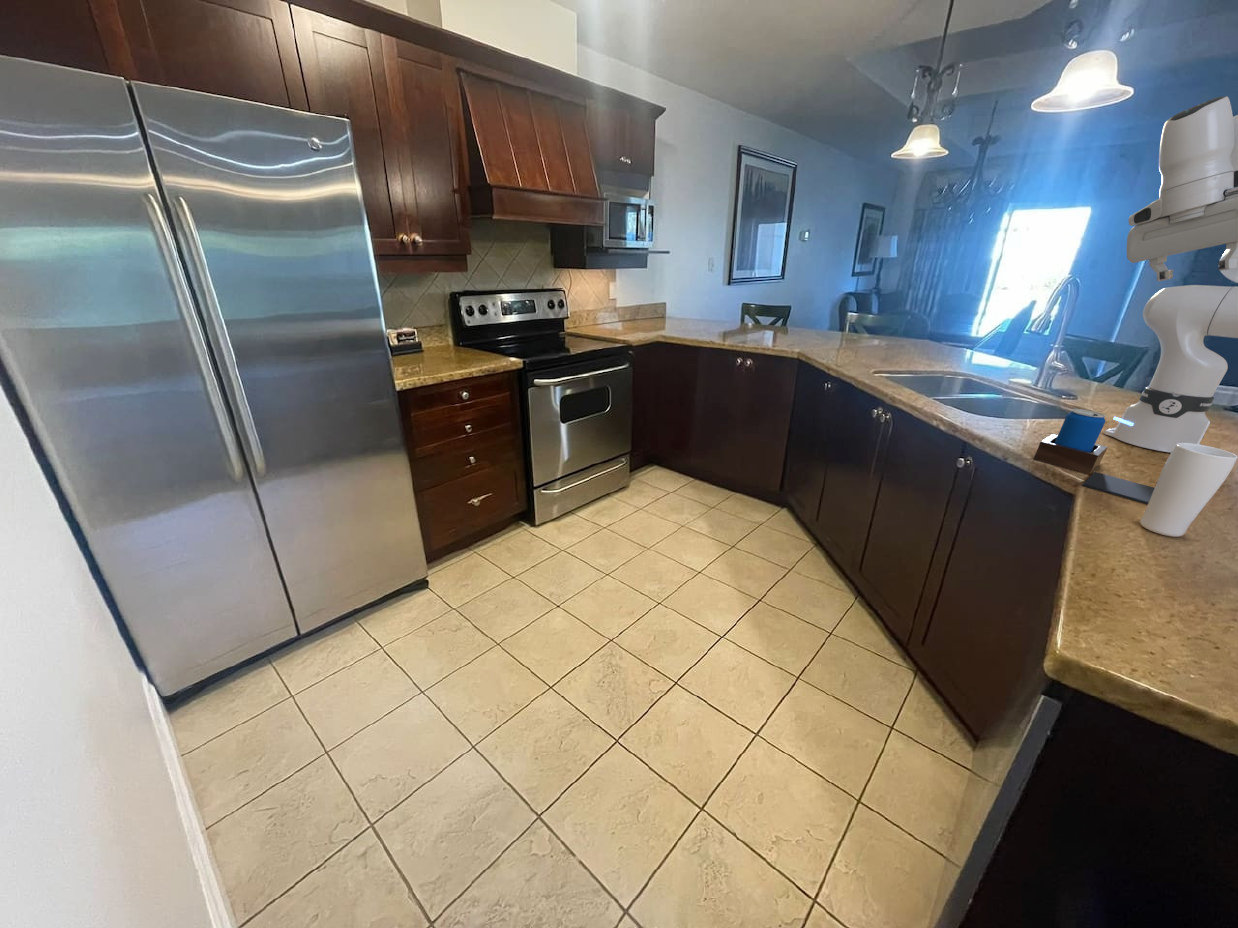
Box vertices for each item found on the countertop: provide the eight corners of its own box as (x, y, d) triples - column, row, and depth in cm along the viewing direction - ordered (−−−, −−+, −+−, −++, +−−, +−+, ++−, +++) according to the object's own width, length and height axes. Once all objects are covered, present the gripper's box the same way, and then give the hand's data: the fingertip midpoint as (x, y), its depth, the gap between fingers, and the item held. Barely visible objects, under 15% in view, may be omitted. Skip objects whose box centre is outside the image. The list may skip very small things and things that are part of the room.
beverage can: (1091, 469, 106) (1116, 418, 102) (1059, 465, 107) (1081, 415, 103) (1072, 458, 112) (1094, 410, 107) (1041, 455, 113) (1062, 407, 109)
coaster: (1093, 473, 104) (1094, 471, 104) (1165, 492, 96) (1166, 490, 96) (1082, 485, 98) (1083, 483, 97) (1157, 507, 90) (1159, 505, 90)
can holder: (1044, 450, 116) (1052, 433, 114) (1099, 464, 109) (1107, 446, 107) (1032, 459, 111) (1040, 441, 109) (1089, 474, 103) (1098, 455, 102)
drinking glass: (1124, 523, 83) (1167, 444, 77) (1143, 517, 86) (1186, 440, 80) (1177, 543, 77) (1228, 460, 71) (1196, 536, 80) (1247, 455, 74)
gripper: (1292, 171, 79) (1289, 257, 81) (1147, 214, 99) (1148, 281, 101) (1258, 179, 78) (1255, 265, 81) (1119, 220, 98) (1121, 288, 101)
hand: (1194, 275), depth 91 cm, fingers open, 8 cm apart
